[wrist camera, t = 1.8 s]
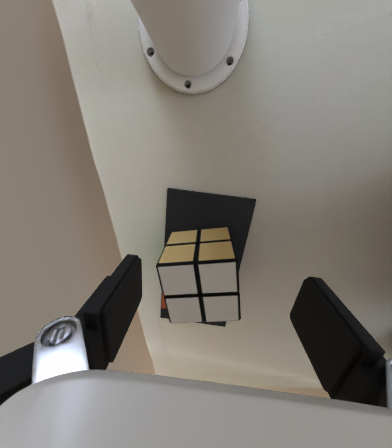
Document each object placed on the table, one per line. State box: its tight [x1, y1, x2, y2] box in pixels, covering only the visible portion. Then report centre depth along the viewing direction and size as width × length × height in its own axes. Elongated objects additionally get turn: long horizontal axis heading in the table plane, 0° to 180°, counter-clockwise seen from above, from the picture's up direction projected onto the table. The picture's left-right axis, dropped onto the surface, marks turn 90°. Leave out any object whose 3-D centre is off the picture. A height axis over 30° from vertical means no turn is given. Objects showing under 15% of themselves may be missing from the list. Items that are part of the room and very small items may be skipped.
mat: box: [161, 188, 256, 327], centre depth 34 cm, size 28×14×1 cm, turn 173°
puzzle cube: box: [156, 227, 241, 323], centre depth 28 cm, size 10×10×10 cm
